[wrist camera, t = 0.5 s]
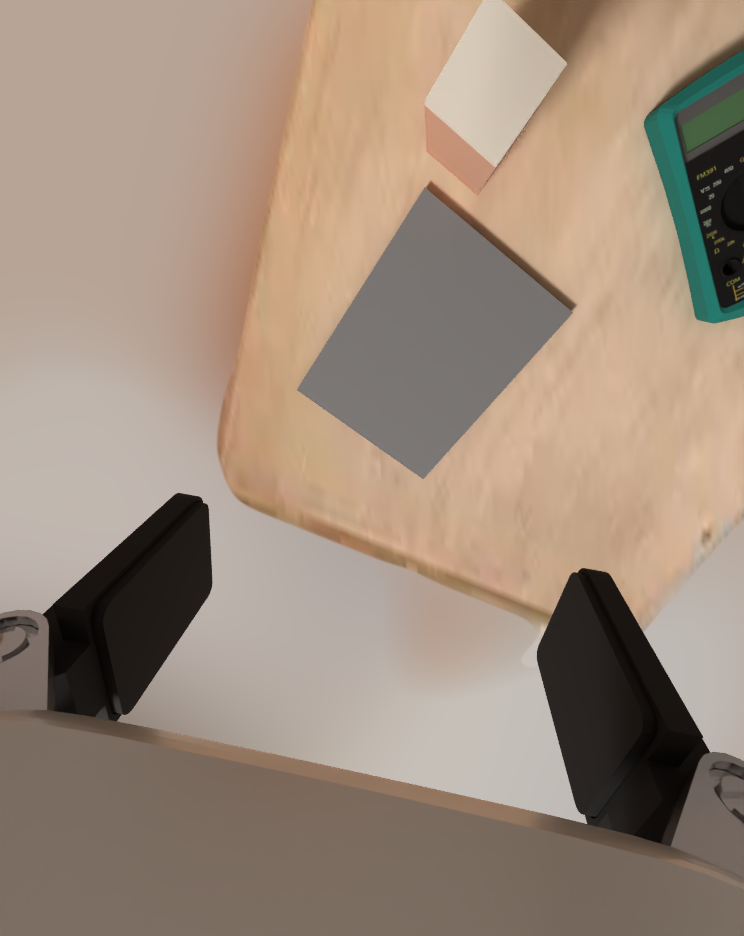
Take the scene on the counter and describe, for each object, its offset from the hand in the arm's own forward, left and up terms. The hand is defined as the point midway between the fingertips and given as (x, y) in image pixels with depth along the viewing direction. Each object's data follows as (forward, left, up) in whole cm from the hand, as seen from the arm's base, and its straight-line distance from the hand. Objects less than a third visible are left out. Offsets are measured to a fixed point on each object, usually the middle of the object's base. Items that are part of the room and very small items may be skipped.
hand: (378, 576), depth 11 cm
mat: (-1, 0, -27) cm, 27 cm away
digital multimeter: (-21, +10, -28) cm, 36 cm away
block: (-14, -6, -27) cm, 31 cm away
